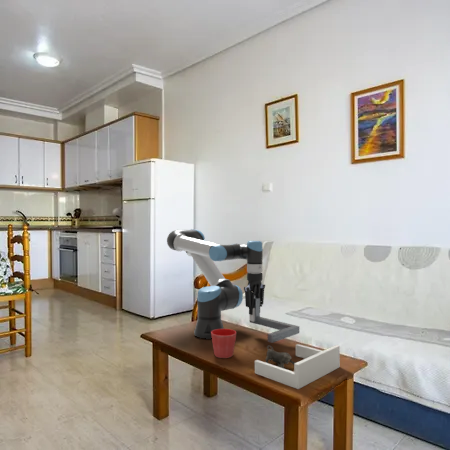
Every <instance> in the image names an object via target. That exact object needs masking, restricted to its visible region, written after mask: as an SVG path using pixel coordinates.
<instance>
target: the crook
mask: <svg viewBox="0 0 450 450" xmlns="http://www.w3.org/2000/svg"><path fill="white" fill-rule="evenodd" d="M253 308H255V322H253V321H249V323H251V324H255V325H259V326H263V327H267V328H270V329H274V330H277V331H273V332H270V333H267V342H268V343H271V344H273V343H275V342H279V341H282V340H284V339H287V338H290V337H292V336H296V335H298V334H300V326H299V325H296V324H290V323H287V322H283V321H278V320H275V319H271V318H270V319H269V318H266V317H263V316H262V317H261V307H260V298H256V297H255V298H254V307H253Z"/></svg>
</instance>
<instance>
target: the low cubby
mask: <svg viewBox="0 0 450 450" xmlns="http://www.w3.org/2000/svg"><path fill="white" fill-rule="evenodd" d="M340 349H341V347H340V345H337V344H335V345H332V346H331V347H329V348H327V349H324V350H321V349H318V348H314V347H310V346H307V345H304V344H303V345H302V344H300V343H299V344H295V357H299V358H301V359H302V358H303V359H302V360H300V361H297V362H295V364H294V367H293V368H294V369H293V371H292V370H289V369H286V368H285V367H284V368H280V367H279V366H278V365H274V364H271V363H269V362H268V363H269V364H268V363H266V361H262V360H259V359H256V360H254V374H256V375H258V376H262V377H264V378H267V379H269V380H272V381H275V382H278V383H279V384H282V385H285V386H288V387H291V388H294V389H297V390H300V389H301V388H303V387H305V386H307V385H308V384H310V383H313V382H315V381H316V380H318V379H320V378H322V377H324V376H326V375H327V374H330V373H332V372H333V371H336V370H337V369H339V368H340V363H341V362H340V361H341V359H340V358H341V356H340V352H341V351H340Z"/></svg>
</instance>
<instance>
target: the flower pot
mask: <svg viewBox="0 0 450 450" xmlns="http://www.w3.org/2000/svg"><path fill="white" fill-rule="evenodd" d="M211 336H212V339H211V341H212V349H213V353H214V356H215V357H216V358H219V359H227V358H231V357H233V355H234V351H235V345H236V341H237V340H236V339H237V331H236V330H234V329H232V328H224V329H216V330H213V331H211Z"/></svg>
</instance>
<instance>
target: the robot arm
mask: <svg viewBox="0 0 450 450" xmlns="http://www.w3.org/2000/svg"><path fill="white" fill-rule="evenodd" d="M205 238H206V237H205V234H203V232H202V231H201V230H199V229H195V228H194V229H192V228H191V229H176V230H172V231H171V232H169V234H168V236H167V238H166V244H167V246H168V247H169V248H170V249H171V250H173V251H176V252H182V251H184V252H185V253H186V255H187V256H188V257H192V259H193V260H194V262H195V264H196V265H197V266H198V268H199V270H200V271H201V273H202V275H203V276H204V277H205V280H206V281H207V282H208V284H209V286H203V287H201V288H199V290H198V291H197V297H196V301H197V320H196V324H195V328H194V331H193V332H194V333H193V336H194V335H195V336H197V337H200V338H199V339H201V338H206V339H205V340H212V339H211V338H212V336H211V331H213V330H216V329H225V328H224V324H223V320H222V312H223V311H228V310H233V309H235V308H238V307H239V306H241V304H242V302H243V297H244V299H245V300H244V301H245V307H247V308H248V315H249V322H250V321H253V322H255V308H253V307H254V298H255V297H256V298H260V308H261V307H263V305H264V299H265V297H264V296H265V287H266V284H263V283H262V281H263V273H262V272H263V251H264V248H263V242H262V241H261V240H247V242H246V243H245V244H243V243H231V244H219V243H215V242H211V241H207V240H206V239H205ZM233 260H246V272H247V273H246V280H247V282H248V283H247V286H243V290H244V295H243V290H242V289H241V287H240V286H239V285H236V284H233V283H232V281H231V280H230V279H227V278H225V276H224V275H223V273H222V272H221V270H220V268H219V267H218V265H217V264H216V263H215V262H224V261H233ZM195 336H194V337H195ZM197 337H196V338H197Z"/></svg>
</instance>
